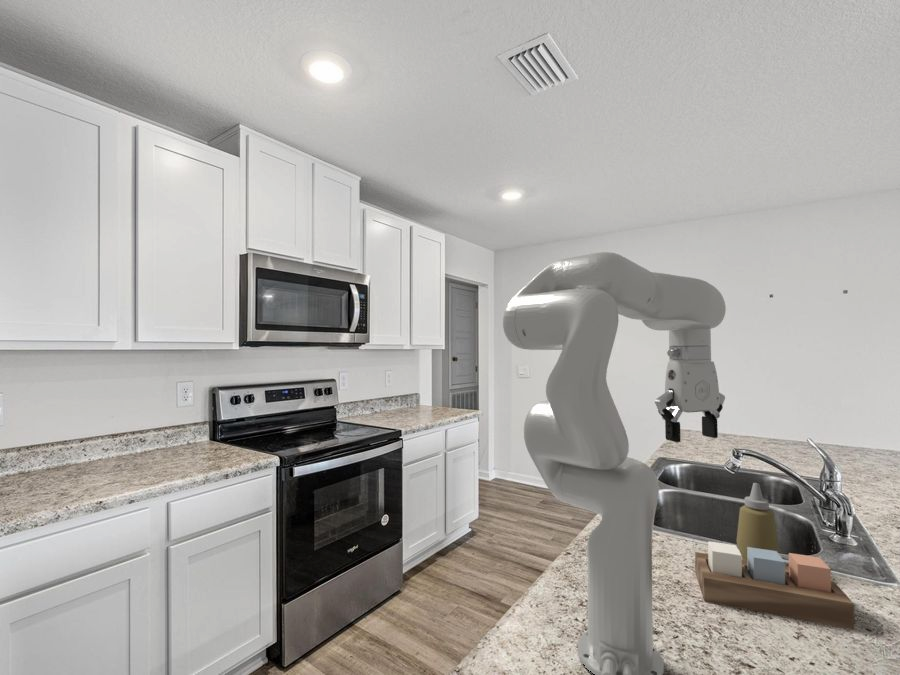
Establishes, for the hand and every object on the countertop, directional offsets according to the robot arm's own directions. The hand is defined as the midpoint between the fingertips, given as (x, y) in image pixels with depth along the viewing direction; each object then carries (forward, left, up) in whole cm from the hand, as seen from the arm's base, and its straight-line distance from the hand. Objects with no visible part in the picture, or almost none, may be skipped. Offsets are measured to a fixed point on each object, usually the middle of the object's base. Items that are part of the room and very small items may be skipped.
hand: (691, 438), depth 90 cm
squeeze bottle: (+20, -15, -31) cm, 40 cm away
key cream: (+3, -6, -27) cm, 28 cm away
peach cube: (+3, -20, -28) cm, 34 cm away
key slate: (+3, -13, -27) cm, 31 cm away
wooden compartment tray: (+3, -13, -31) cm, 33 cm away
